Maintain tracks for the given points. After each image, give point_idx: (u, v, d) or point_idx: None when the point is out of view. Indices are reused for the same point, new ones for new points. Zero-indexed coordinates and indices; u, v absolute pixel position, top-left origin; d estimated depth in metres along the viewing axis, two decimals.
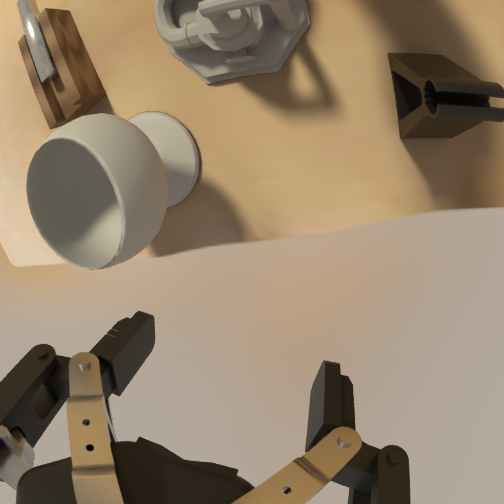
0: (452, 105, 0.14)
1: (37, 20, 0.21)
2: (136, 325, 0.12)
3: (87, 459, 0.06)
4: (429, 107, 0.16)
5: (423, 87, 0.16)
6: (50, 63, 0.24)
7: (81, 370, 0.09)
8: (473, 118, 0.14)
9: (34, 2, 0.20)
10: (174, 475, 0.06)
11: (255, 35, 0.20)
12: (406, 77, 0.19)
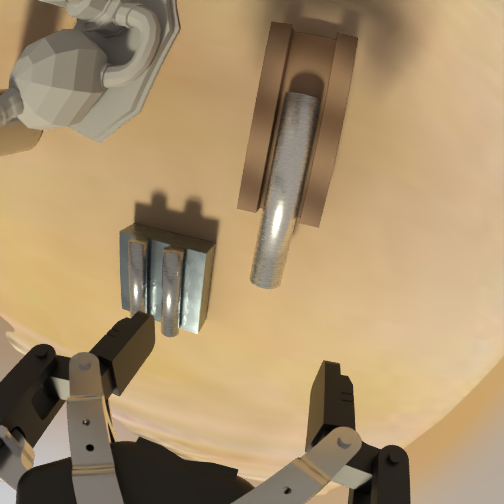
0: None
1: (263, 209, 0.24)
2: (136, 325, 0.12)
3: (87, 458, 0.06)
4: None
5: None
6: (284, 107, 0.21)
7: (81, 370, 0.09)
8: None
9: None
10: (174, 475, 0.06)
11: None
12: None
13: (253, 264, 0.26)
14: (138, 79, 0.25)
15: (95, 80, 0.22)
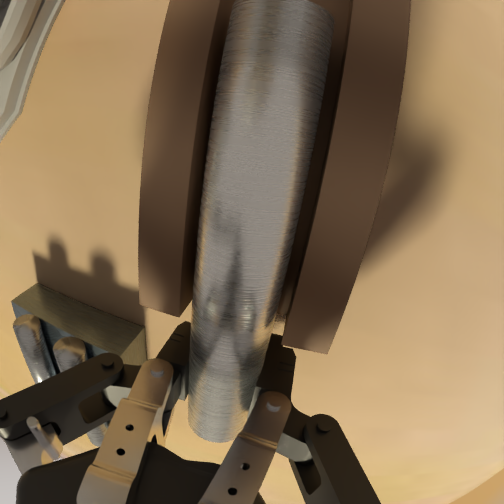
0: None
1: None
2: None
3: (112, 460, 0.06)
4: None
5: None
6: (226, 41, 0.06)
7: (156, 378, 0.09)
8: None
9: None
10: (174, 475, 0.06)
11: None
12: None
13: (188, 400, 0.12)
14: (14, 62, 0.11)
15: None
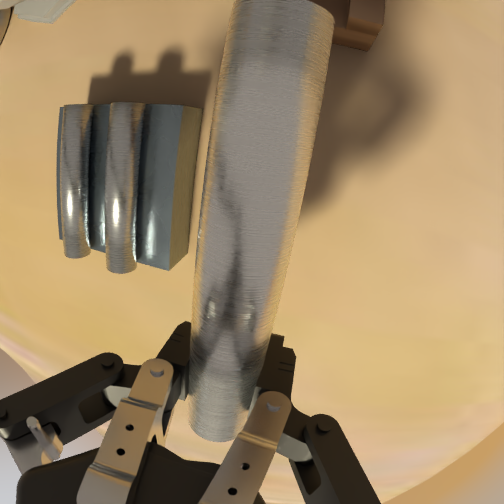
0: None
1: None
2: None
3: (112, 460, 0.06)
4: None
5: None
6: (226, 41, 0.06)
7: (156, 378, 0.09)
8: None
9: None
10: (174, 475, 0.06)
11: None
12: None
13: (188, 400, 0.12)
14: None
15: None
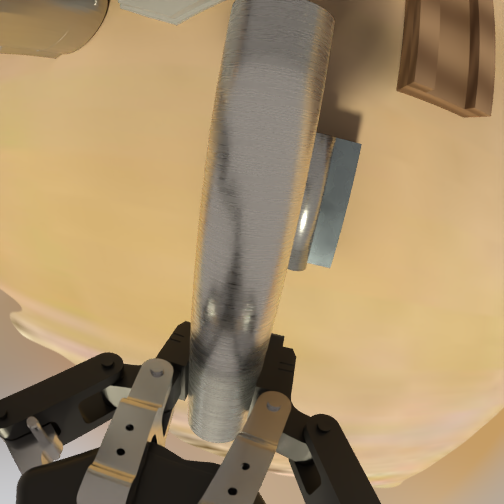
0: None
1: None
2: None
3: (112, 461, 0.06)
4: None
5: None
6: (225, 42, 0.06)
7: (156, 378, 0.09)
8: None
9: None
10: (174, 475, 0.06)
11: None
12: None
13: (188, 401, 0.12)
14: None
15: None
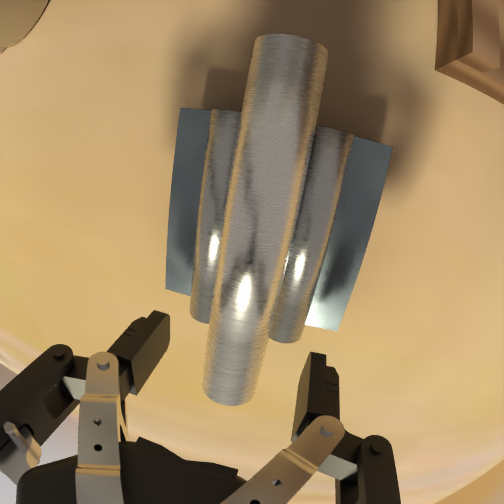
0: None
1: (215, 274, 0.12)
2: (153, 324, 0.12)
3: (94, 458, 0.06)
4: None
5: None
6: (250, 67, 0.09)
7: (100, 370, 0.09)
8: None
9: None
10: (174, 475, 0.06)
11: None
12: None
13: (205, 365, 0.14)
14: None
15: None
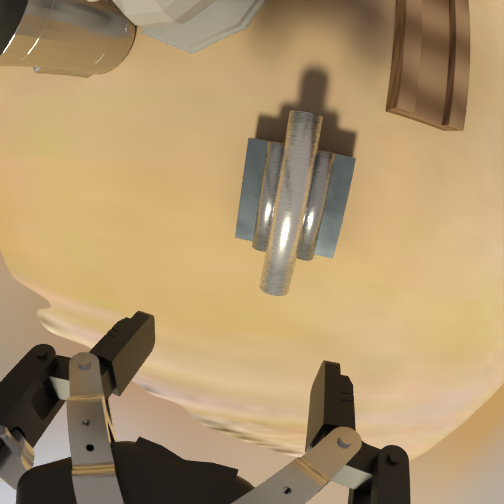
0: None
1: (271, 220, 0.26)
2: (136, 325, 0.12)
3: (87, 458, 0.06)
4: None
5: None
6: (288, 124, 0.23)
7: (81, 370, 0.09)
8: None
9: (264, 264, 0.28)
10: (174, 475, 0.06)
11: None
12: None
13: (262, 272, 0.27)
14: None
15: None
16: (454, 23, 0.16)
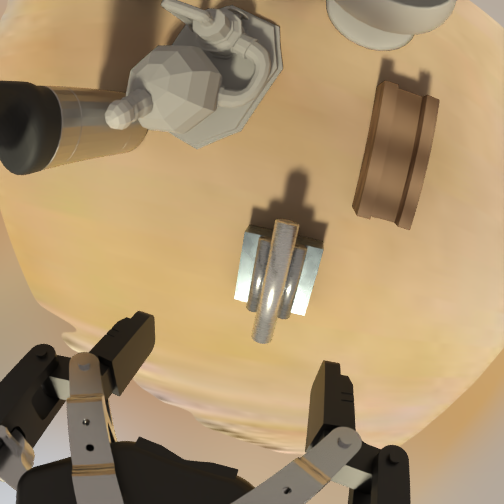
0: None
1: (260, 295, 0.37)
2: (136, 325, 0.12)
3: (87, 459, 0.06)
4: None
5: None
6: (274, 232, 0.34)
7: (81, 370, 0.09)
8: None
9: (254, 321, 0.39)
10: (174, 475, 0.06)
11: None
12: None
13: (253, 327, 0.39)
14: (245, 104, 0.34)
15: (216, 100, 0.30)
16: (419, 134, 0.28)
